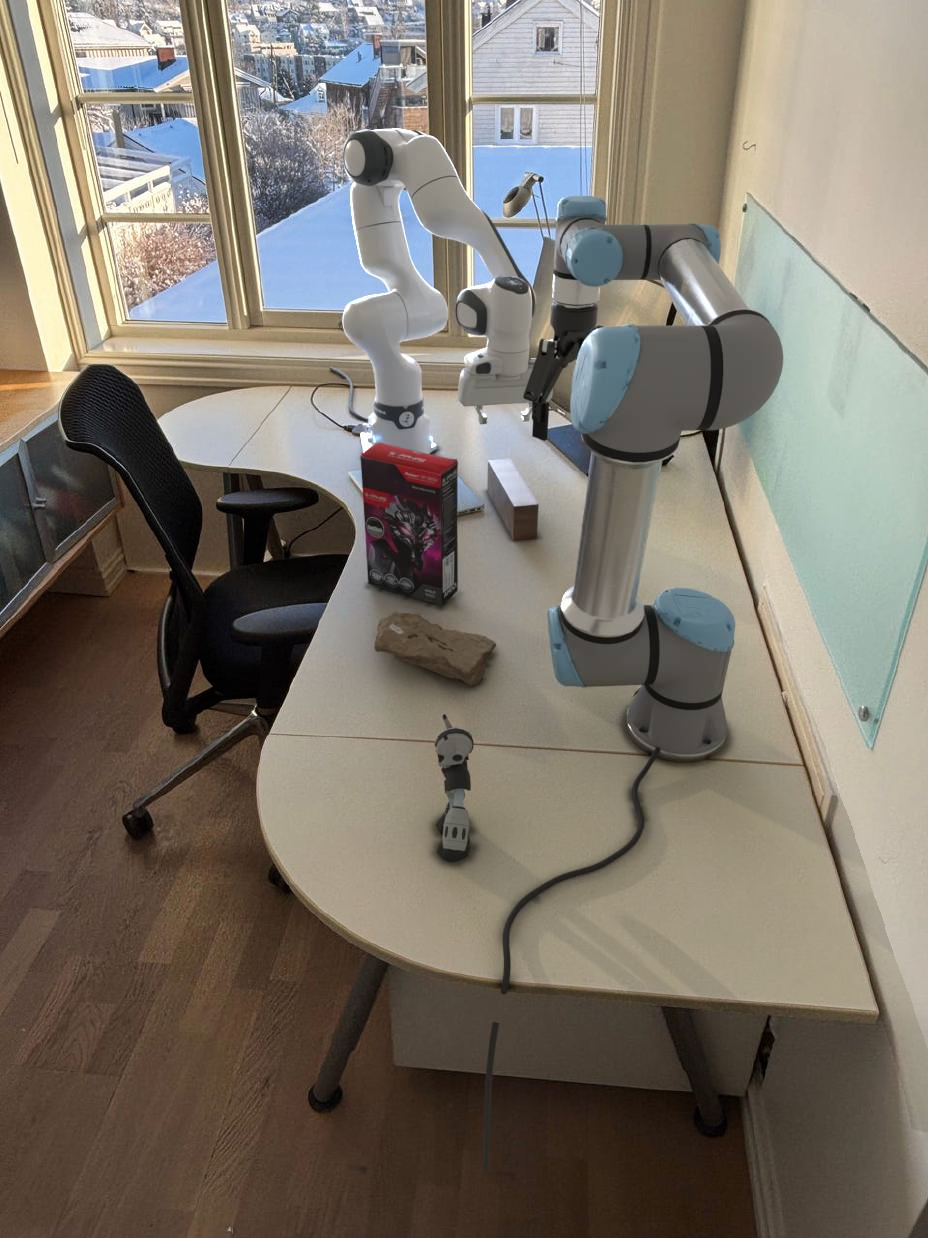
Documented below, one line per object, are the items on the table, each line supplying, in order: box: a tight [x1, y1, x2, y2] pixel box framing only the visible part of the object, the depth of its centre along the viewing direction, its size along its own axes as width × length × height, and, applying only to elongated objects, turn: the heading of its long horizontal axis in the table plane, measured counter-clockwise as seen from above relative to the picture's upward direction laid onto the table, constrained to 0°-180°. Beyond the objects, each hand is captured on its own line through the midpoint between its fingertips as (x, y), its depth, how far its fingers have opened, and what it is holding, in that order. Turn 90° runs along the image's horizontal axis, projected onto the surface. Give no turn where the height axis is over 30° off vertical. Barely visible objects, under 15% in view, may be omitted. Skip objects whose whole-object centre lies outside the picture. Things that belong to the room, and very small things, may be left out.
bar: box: [486, 458, 540, 541], centre depth 201 cm, size 24×5×8 cm, turn 12°
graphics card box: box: [359, 442, 459, 606], centre depth 169 cm, size 17×7×27 cm, turn 62°
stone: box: [373, 611, 497, 686], centre depth 156 cm, size 21×15×6 cm
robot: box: [433, 713, 475, 862], centre depth 119 cm, size 20×5×20 cm, turn 3°
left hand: (503, 421), depth 200 cm, fingers open, 8 cm apart
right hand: (565, 427), depth 159 cm, fingers open, 13 cm apart
